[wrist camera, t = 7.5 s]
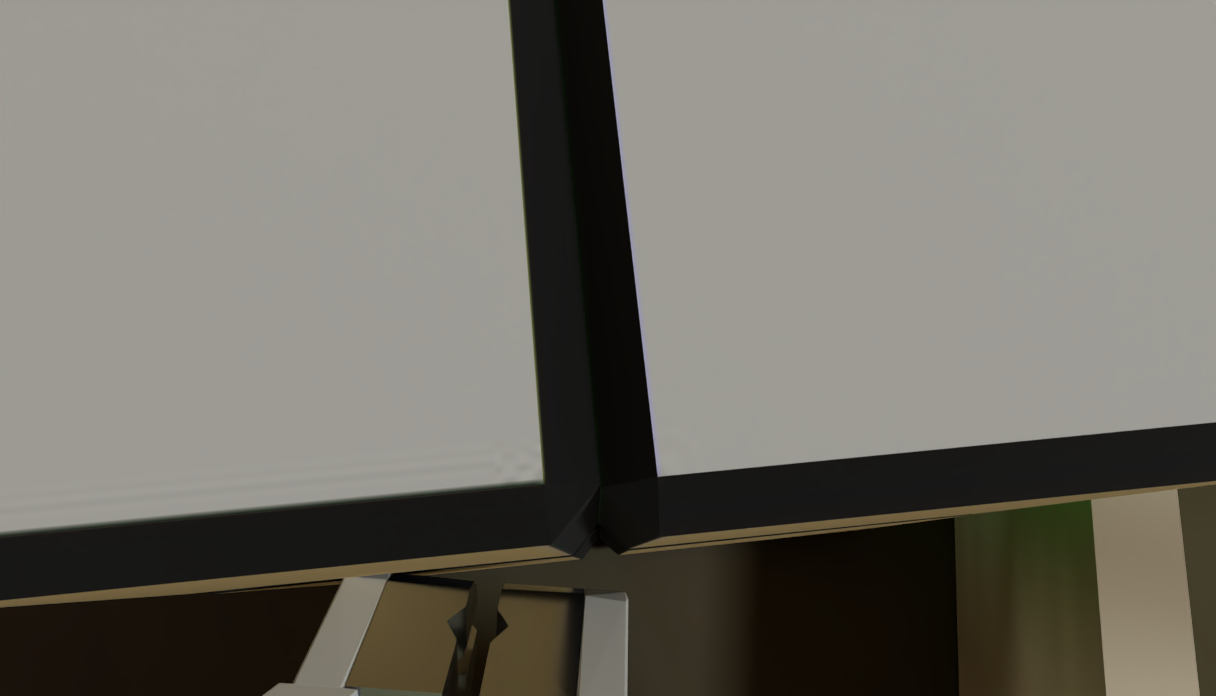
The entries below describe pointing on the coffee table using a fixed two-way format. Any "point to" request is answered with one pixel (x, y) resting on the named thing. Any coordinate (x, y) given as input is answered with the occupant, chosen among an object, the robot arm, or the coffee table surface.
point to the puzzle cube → (585, 277)
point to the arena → (1075, 600)
